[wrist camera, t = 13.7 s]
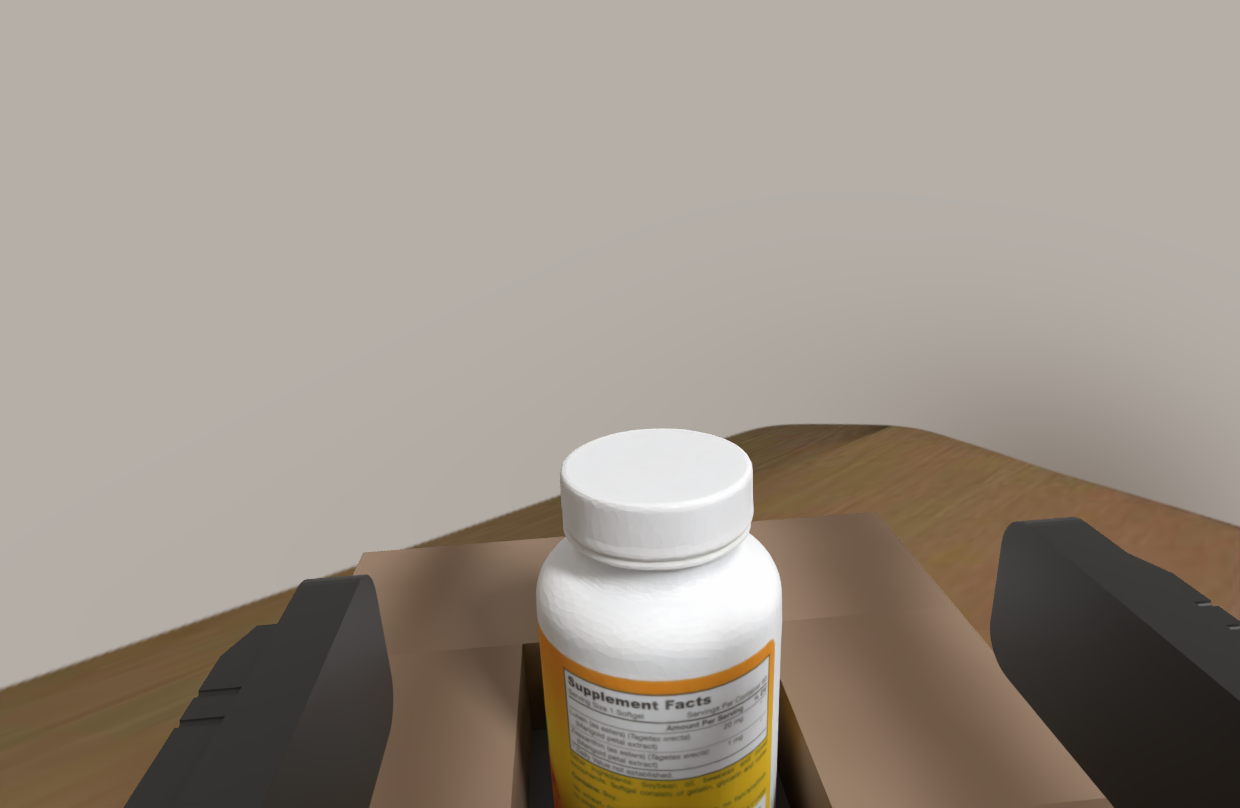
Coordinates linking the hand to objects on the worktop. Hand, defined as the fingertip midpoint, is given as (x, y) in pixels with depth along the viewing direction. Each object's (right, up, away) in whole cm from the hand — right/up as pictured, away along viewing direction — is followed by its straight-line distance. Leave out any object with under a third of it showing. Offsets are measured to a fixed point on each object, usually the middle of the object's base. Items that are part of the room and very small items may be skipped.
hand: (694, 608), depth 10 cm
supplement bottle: (0, -8, +9) cm, 12 cm away
